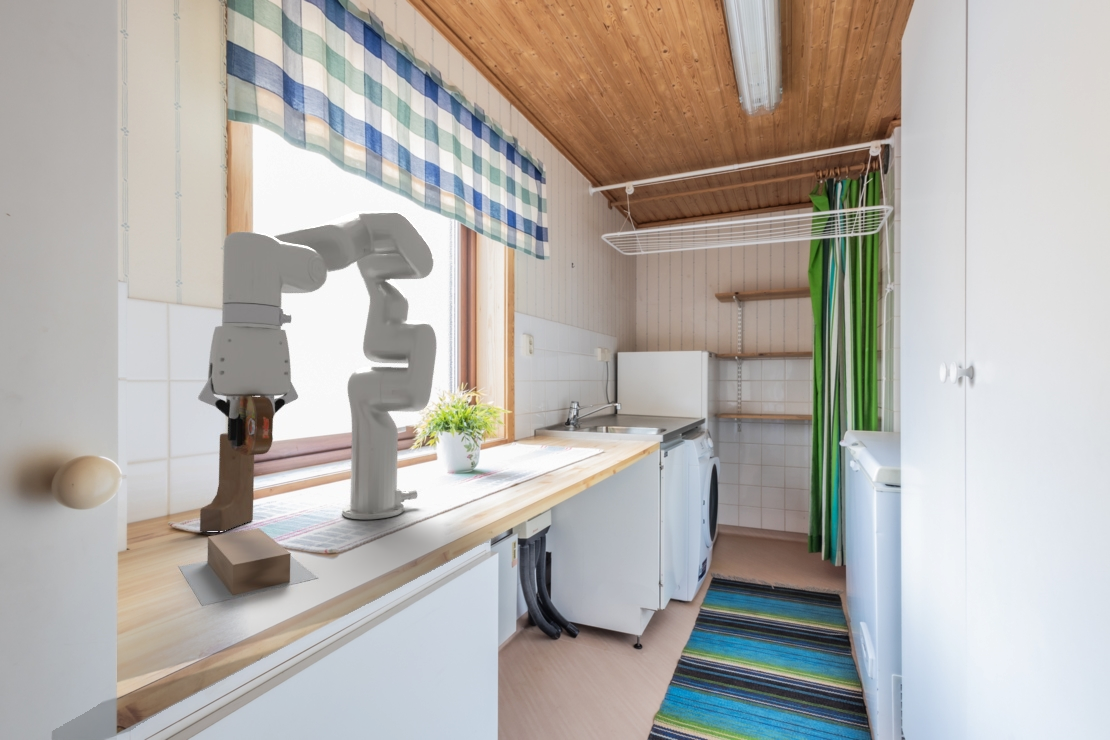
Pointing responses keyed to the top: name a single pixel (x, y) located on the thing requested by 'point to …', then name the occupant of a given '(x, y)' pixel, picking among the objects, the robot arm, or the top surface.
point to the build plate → (215, 591)
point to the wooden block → (230, 491)
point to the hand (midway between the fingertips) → (249, 443)
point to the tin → (255, 425)
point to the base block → (248, 560)
